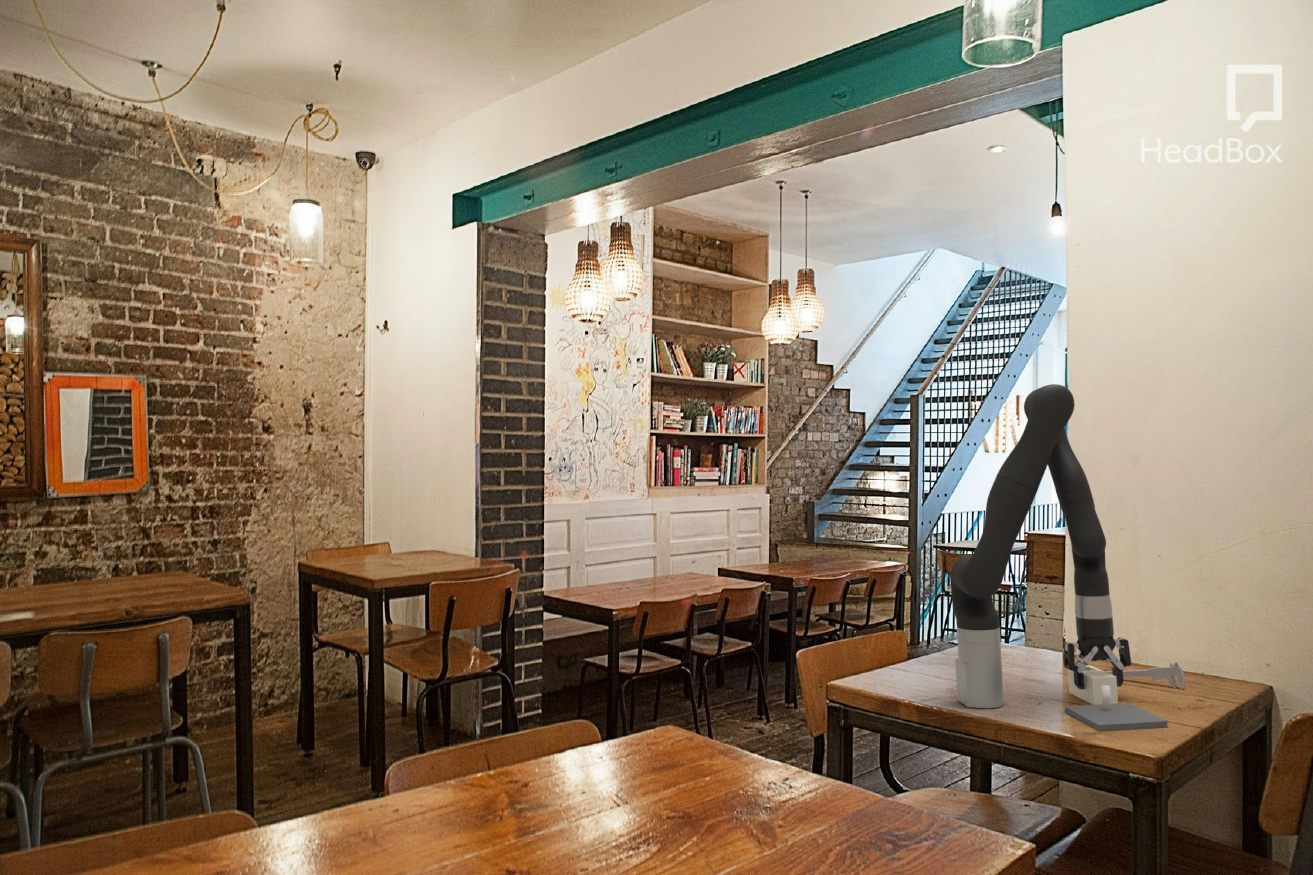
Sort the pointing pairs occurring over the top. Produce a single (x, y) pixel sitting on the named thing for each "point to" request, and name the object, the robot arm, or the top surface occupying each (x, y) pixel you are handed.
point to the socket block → (1093, 685)
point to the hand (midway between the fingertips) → (1099, 687)
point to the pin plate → (1114, 715)
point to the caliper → (1159, 674)
